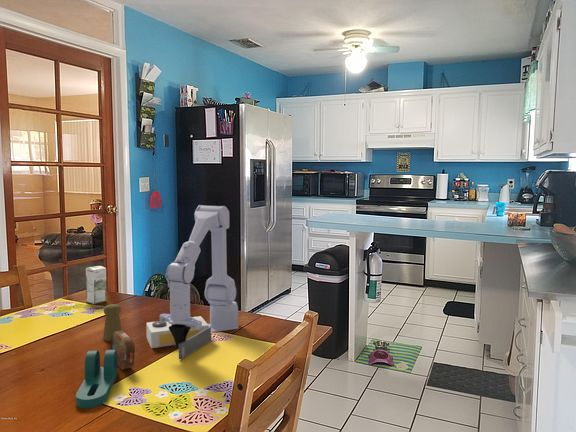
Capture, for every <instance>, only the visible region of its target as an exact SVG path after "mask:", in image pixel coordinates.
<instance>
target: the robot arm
mask: <svg viewBox="0 0 576 432" xmlns="http://www.w3.org/2000/svg"><path fill="white" fill-rule="evenodd" d="M194 222H195V223H194V226H193V228H192V230H191V233H190V235H189V239H188V241H185V242H183V243H182V246H181V247H180V250H179V252H178V254H177V255H176V258H175V260H174V261H173V262H171V263H170V264H168V265H167V268H166V269H165V270H166V271H165V272H166V273H165V279H166V281H167V287H168V288H169V312H170V313H161V314H159V321H161V322H163V321H166V322H169V324H172V326H169V330H170V332H171V333H172V335H173V337H174V340H175V343H176V345H175V346H176V350H178V351H179V344H180V343H181V342H183V341H185V340H186V337H187V334H188V332H189V330H190V328H191V327H192V328H195V329H197V330H198V329H200V328H202V321H199V320H196V319H194V318H192V316H191V282H192V281H193V279H194V277H195V269H196V266H195V265H196V262H197V260H198V258H199V255H200V253H201V252H202V251H201V247H200V245H201V244H202V242H203V240H204V239H205V237H206V235H207V233H208V232H211V233H210V235H211V237H210V239H211V240H210V241H211V276H210V277H209V278H208V279H206V282H205V289H204V299H206V301H207V303H208V304H209V323H207V324H208V325H209V327H211V333H218V332H224V331H232V330H238V329H240V327H239V306H238V302H237V301H235V300H236V298H237V297H236V296H237V287H236V283H235V279H234V278H232V277H231V276H229V275H228V273H227V272H228V270H227V269H228V266H227V263H228V262H227V261H228V260H227V258H228V257H227V254H228V253H227V229H230V210H229V209H228V208H227V206H225V205H220V206H219V205H202V204H199V205H198V206H197V207H196V209H195V210H194Z"/></svg>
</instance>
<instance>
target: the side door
mask: <svg viewBox="0 0 576 432" xmlns="http://www.w3.org/2000/svg"><path fill="white" fill-rule="evenodd" d="M209 342H212V331H211V327H208V328H206V329H204V330H202V331H201V332H199V333H197V334H195V335H194V336H192V337H190V338H188V339H187V340H185V341H183V342H181V343H180V344H179V350H178V360H183V359H184V358H186V357H188V356H189V355H191V354H193V353H195V352H196V351H197V350H199V349H200V348H202V347H203V346H205V345H207V344H208V343H209Z"/></svg>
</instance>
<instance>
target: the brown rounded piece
mask: <svg viewBox="0 0 576 432" xmlns="http://www.w3.org/2000/svg"><path fill="white" fill-rule="evenodd" d="M110 350H117V354H118V368H120V369H121V370H126V369H130V368H133V366H134V365H135V351H136V348H135V343H134V341H133V339H132V337H130V336H129V335H128V334H127V333H126V332H125V331H124V330H122V331H117V332H115V331H114V332H113V333H112V336H111V341H110Z"/></svg>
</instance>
